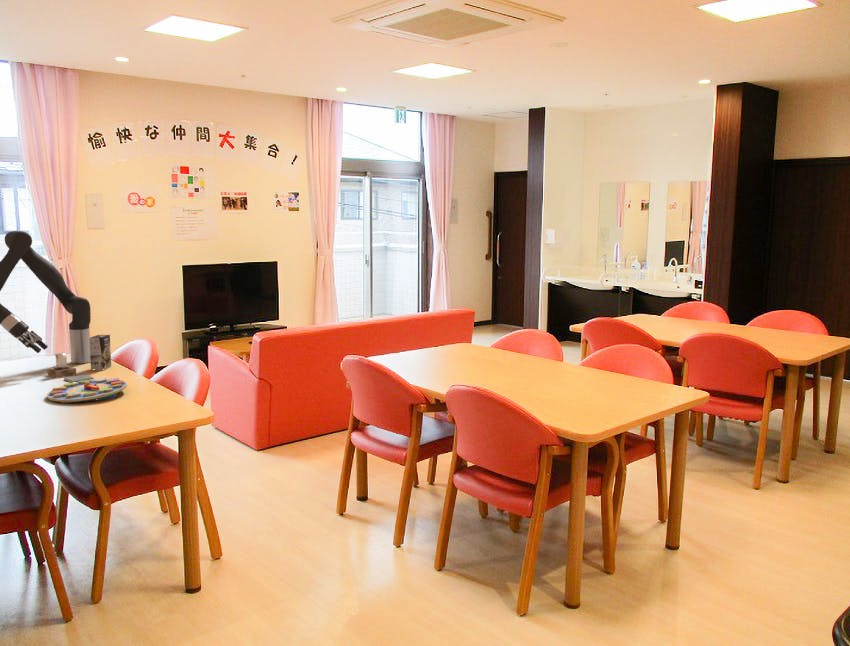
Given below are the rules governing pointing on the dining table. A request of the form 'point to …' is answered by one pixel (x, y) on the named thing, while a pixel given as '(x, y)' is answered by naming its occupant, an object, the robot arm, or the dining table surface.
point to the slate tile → (78, 378)
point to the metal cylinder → (61, 361)
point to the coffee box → (100, 352)
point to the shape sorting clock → (87, 390)
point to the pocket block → (61, 372)
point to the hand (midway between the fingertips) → (43, 349)
